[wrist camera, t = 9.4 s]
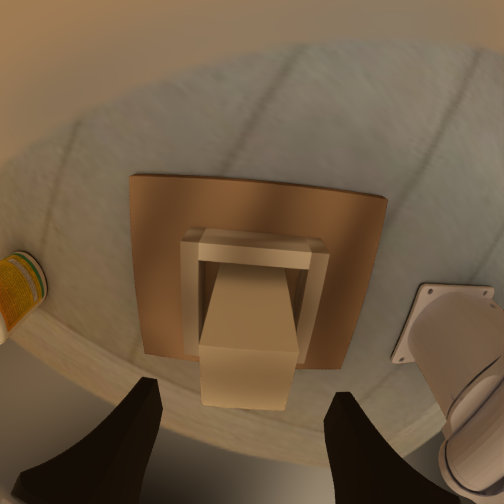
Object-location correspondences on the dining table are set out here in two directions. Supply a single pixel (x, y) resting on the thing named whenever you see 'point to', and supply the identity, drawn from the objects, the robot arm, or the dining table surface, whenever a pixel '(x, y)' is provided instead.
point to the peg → (248, 339)
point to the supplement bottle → (19, 291)
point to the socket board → (251, 256)
